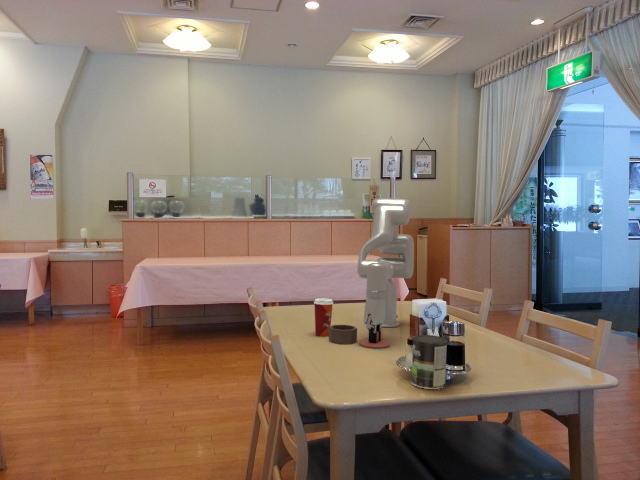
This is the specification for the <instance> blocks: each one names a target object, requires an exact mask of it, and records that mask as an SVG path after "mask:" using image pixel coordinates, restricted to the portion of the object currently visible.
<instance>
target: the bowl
mask: <svg viewBox="0 0 640 480" xmlns="http://www.w3.org/2000/svg"><path fill="white" fill-rule="evenodd" d="M328 340H329V342H330V343H332V344H334V345H335V344H337V345H351V344H355V343H356V342H357V341H358V327H356V326H354V325H350V324H334V325H331V326H329V336H328Z"/></svg>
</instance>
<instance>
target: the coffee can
mask: <svg viewBox="0 0 640 480" xmlns="http://www.w3.org/2000/svg"><path fill="white" fill-rule="evenodd" d="M447 346H448V339H447V338H445V337H443V336H439V335H431V334H420V335H415V336H413V337H412V361H411V362H412V364H411V366H412V367H411V382H410V383H411V385H412V386H413V385H414V386H413V387H415V386H417V387H416V388H418V387H422V388H438V387H442V386H443V385H444V384H445V385H446V368H447V367H446V366H447Z"/></svg>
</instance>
